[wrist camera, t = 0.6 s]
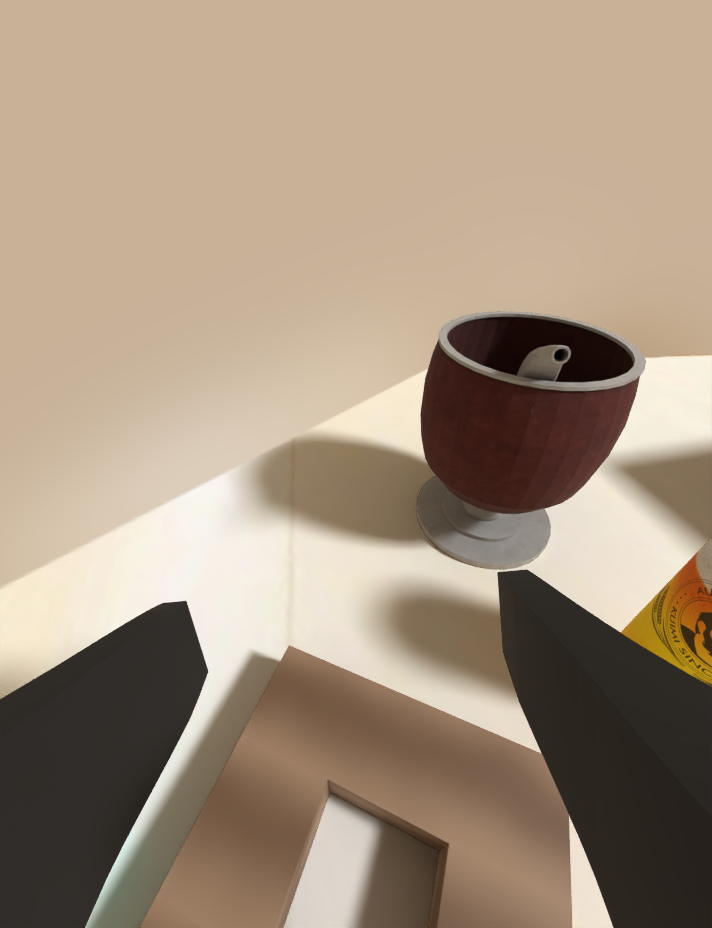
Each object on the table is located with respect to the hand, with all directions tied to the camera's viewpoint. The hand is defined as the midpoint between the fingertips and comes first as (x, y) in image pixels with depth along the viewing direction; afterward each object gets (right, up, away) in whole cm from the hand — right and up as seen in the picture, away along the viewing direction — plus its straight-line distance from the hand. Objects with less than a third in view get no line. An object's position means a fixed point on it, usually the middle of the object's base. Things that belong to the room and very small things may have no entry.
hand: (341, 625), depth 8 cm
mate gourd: (+12, -2, +27) cm, 30 cm away
